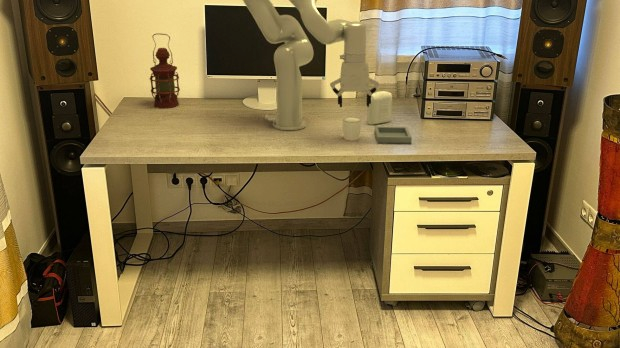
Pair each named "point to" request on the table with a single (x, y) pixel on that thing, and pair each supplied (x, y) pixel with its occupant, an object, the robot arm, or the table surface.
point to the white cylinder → (351, 128)
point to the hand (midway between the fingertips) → (354, 106)
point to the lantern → (164, 80)
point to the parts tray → (392, 135)
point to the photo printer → (380, 108)
